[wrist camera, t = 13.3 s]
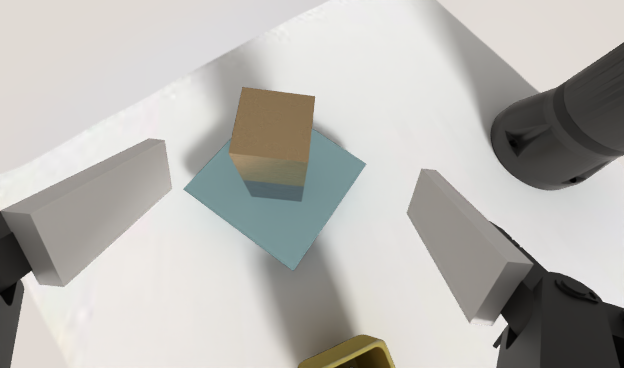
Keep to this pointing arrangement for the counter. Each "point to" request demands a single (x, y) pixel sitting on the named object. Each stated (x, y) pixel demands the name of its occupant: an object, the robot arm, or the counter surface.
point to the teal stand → (279, 213)
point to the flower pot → (353, 355)
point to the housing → (272, 142)
